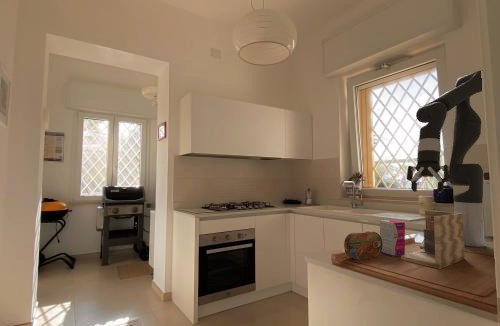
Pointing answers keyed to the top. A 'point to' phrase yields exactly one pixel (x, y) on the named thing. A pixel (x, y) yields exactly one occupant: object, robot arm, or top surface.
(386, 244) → the supplement box
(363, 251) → the tin
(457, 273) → the top surface
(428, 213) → the wooden bookend
